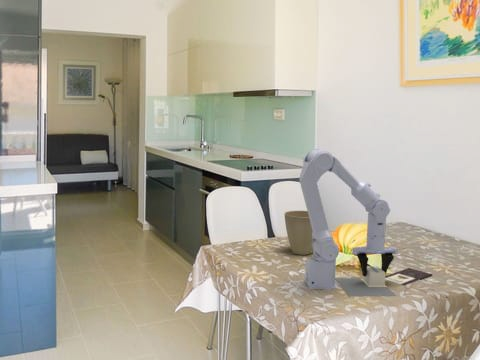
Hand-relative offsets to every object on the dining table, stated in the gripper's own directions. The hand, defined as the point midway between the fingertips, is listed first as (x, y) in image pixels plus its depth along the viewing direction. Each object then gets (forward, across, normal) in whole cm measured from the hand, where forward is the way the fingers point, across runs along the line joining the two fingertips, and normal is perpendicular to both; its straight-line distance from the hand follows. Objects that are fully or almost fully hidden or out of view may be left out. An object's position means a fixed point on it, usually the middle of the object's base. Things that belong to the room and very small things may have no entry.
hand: (373, 275), depth 161 cm
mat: (+3, -4, -4) cm, 6 cm away
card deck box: (+2, 0, 0) cm, 3 cm away
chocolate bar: (+4, +14, +6) cm, 16 cm away
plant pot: (+3, -16, +38) cm, 41 cm away
